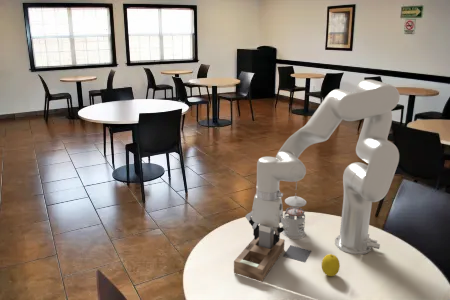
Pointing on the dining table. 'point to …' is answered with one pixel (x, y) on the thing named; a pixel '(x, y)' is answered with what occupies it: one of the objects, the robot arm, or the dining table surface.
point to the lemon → (330, 265)
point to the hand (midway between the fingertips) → (266, 239)
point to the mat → (297, 253)
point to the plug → (266, 236)
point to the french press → (296, 224)
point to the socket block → (257, 259)
